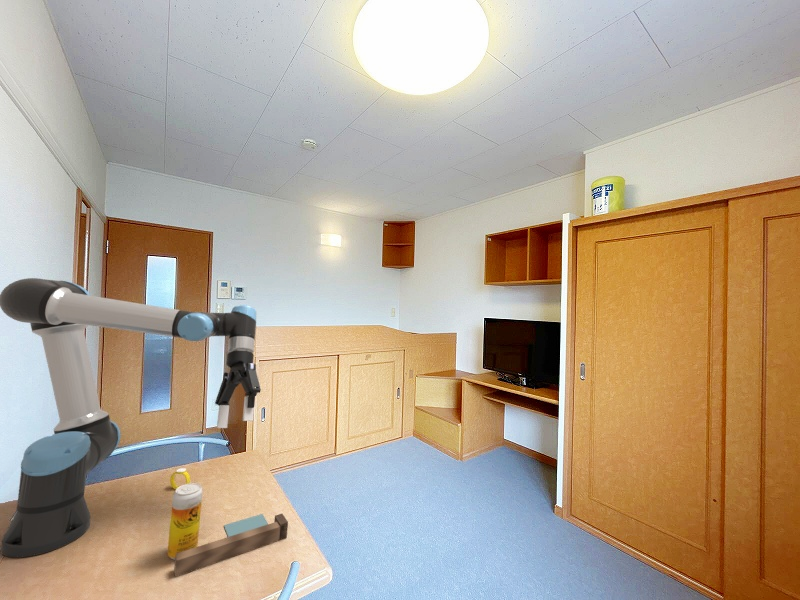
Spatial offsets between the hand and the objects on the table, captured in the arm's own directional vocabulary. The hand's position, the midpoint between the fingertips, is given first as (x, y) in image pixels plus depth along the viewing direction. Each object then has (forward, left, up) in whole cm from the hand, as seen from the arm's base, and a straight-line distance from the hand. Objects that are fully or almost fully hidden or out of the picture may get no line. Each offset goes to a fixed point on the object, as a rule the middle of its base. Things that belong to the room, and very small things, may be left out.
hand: (234, 424), depth 96 cm
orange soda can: (-11, -10, -26) cm, 30 cm away
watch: (-9, +23, -26) cm, 36 cm away
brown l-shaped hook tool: (-1, -15, -26) cm, 30 cm away
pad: (+4, -9, -26) cm, 27 cm away
